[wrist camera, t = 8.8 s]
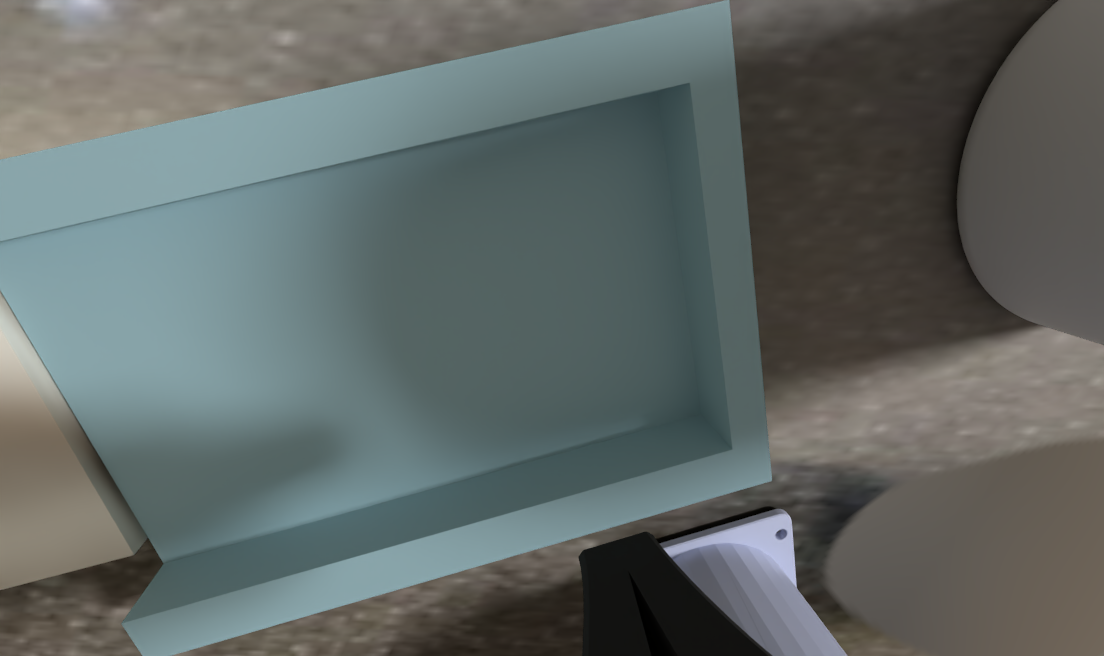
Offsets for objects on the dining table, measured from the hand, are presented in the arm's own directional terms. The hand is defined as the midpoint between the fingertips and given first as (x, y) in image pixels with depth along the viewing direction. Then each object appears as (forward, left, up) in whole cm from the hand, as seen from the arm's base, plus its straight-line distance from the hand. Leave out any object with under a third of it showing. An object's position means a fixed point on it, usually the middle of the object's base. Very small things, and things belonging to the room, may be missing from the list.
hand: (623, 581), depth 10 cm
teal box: (+3, +4, -9) cm, 11 cm away
